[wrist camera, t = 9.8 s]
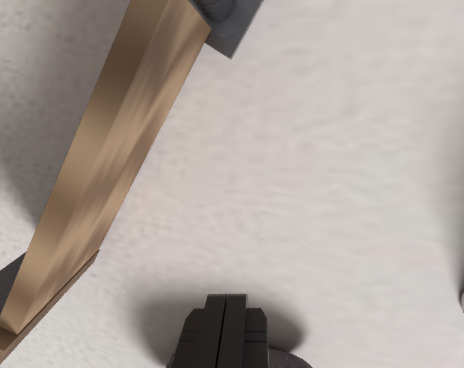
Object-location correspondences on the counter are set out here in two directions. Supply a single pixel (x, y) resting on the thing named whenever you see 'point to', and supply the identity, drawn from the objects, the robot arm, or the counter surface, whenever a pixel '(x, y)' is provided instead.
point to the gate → (104, 155)
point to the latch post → (8, 279)
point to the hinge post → (227, 21)
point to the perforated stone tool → (277, 360)
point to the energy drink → (462, 302)
